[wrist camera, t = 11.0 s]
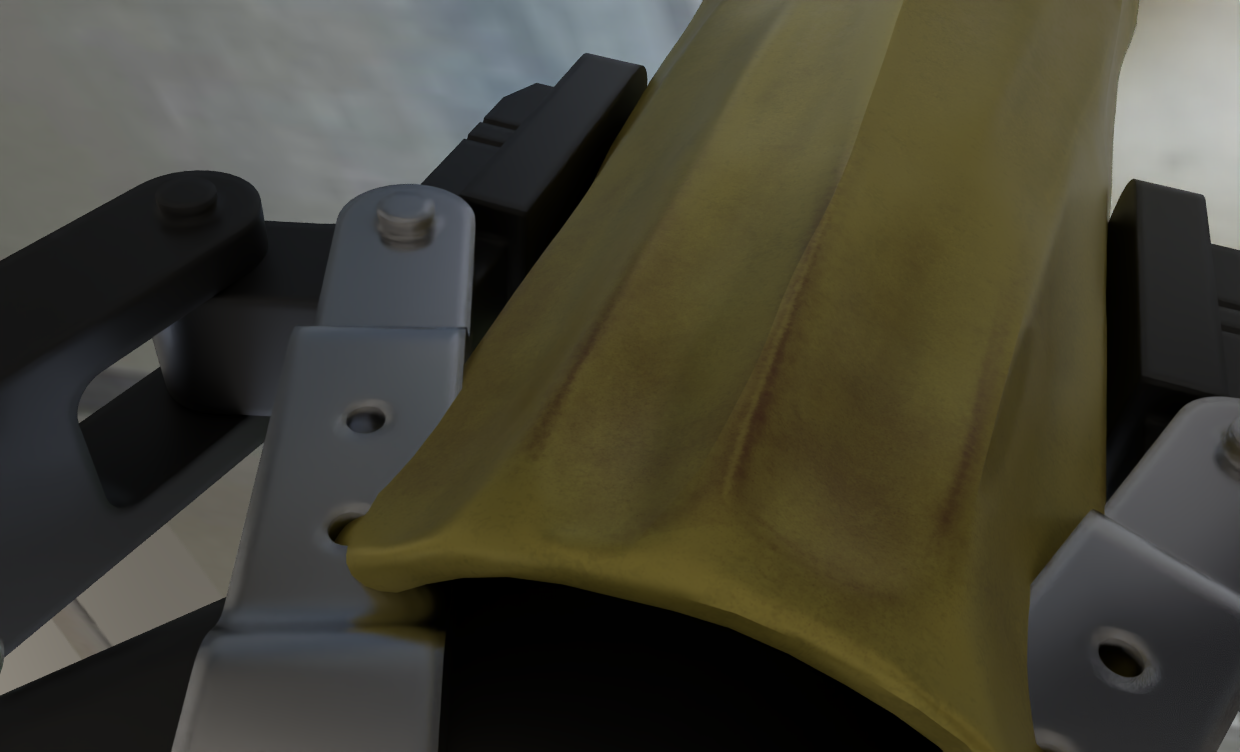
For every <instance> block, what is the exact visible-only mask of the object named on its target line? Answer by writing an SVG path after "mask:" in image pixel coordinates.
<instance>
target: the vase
mask: <svg viewBox="0 0 1240 752" xmlns="http://www.w3.org/2000/svg"><path fill="white" fill-rule="evenodd" d="M1138 7H1139V0H703V2H702V3H701V5H700V7H699V9H698V10H697V12H696V14H695V15H694V17H693V19H692V20H691V22H690V23H689V25H688V27H687V28H686V30H685V31H684V33H683V34H682V36H681V37H680V38H679V40H678V41H677V43H676V44H675V46H674V47H673V49H672V50H671V51H670V53H669V54H668V56H667V57H666V59H665V60H664V61H663V63H662V64H661V66H660V67H659V69H658V70H657V72H656V73H655V75H654V77H653V78H652V80H651V81H650V83H649V84H648V86H647V88H646V89H645V91H644V93H643V94H642V96H641V98H640V99H639V101H638V103H637V104H636V106H635V108H634V109H633V111H632V112H631V114H630V116H629V117H628V119H627V121H626V122H625V124H624V126H623V127H622V129H621V130H620V132H619V134H618V135H617V137H616V138H615V140H614V142H613V143H612V145H611V147H610V149H609V151H608V153H607V155H606V157H605V159H604V161H603V163H602V165H601V167H600V169H599V171H598V173H597V175H596V177H595V179H594V181H593V183H592V185H591V187H590V189H589V190H588V192H587V193H586V195H585V196H584V198H583V199H582V200H581V202H580V203H579V205H578V206H577V207H576V209H575V210H574V212H573V213H572V214H571V216H570V217H569V219H568V220H567V221H566V223H565V224H564V226H563V227H562V228H561V230H560V231H559V232H558V234H557V235H556V236H555V238H554V239H553V240H552V242H551V243H550V244H549V246H548V247H547V248H546V250H545V251H544V252H543V254H542V255H541V256H540V258H539V259H538V261H537V262H536V263H535V265H534V266H533V267H532V269H531V270H530V272H529V273H528V274H527V276H526V277H525V278H524V280H523V281H522V283H521V284H520V285H519V287H518V288H517V290H516V291H515V292H514V294H513V295H512V297H511V298H510V300H509V301H508V302H507V304H506V305H505V307H504V308H503V310H502V311H501V312H500V314H499V315H498V317H497V318H496V320H495V321H494V323H493V324H492V325H491V327H490V328H489V330H488V331H487V333H486V334H485V336H484V337H483V338H482V340H481V341H480V343H479V344H478V346H477V347H476V348H475V350H474V351H473V353H472V354H471V356H470V357H469V358H468V360H467V361H466V363H465V364H464V373H463V384H462V390H461V391H460V393H459V394H458V396H457V397H456V399H455V400H454V401H453V403H452V404H451V406H450V407H449V409H448V410H447V412H446V413H445V415H444V416H443V418H442V419H441V421H440V422H439V424H438V425H437V426H436V428H435V429H434V430H433V432H432V433H431V434H430V435H429V437H428V438H427V439H426V441H425V442H424V443H423V445H422V446H421V447H420V448H419V450H418V451H417V452H416V454H415V455H414V456H413V457H412V458H411V460H410V461H409V462H408V463H407V464H406V465H405V466H404V467H403V468H402V470H401V471H400V472H399V473H398V474H397V475H396V476H395V477H394V478H393V480H392V481H391V482H390V483H389V484H388V485H387V486H386V487H385V488H384V489H383V490H382V491H381V492H379V493H378V495H377V497H376V499H375V500H374V502H373V504H372V505H371V507H370V509H369V511H368V512H367V513H366V514H365V515H364V516H361V517H359V518H357V519H355V520H353V521H351V522H349V523H348V524H347V525H346V526H345V527H344V528H343V529H342V531H341V532H340V533H339V535H338V536H337V538H336V539H335V541H334V543H336V544H339V545H343V546H348V548H347V553H346V563H347V566H348V568H349V570H350V573H351V575H352V576H353V577H355V578H356V579H357V580H358V581H359V582H361V583H362V584H363V585H364V586H367V587H369V588H372V589H375V590H378V591H384V592H395V593H397V592H401V591H405V590H408V589H412V588H415V587H419V586H422V585H425V584H430V583H436V582H442V581H448V580H453V579H459V578H481V577H512V578H519V579H527V580H534V581H542V582H549V583H557V584H563V585H567V586H571V587H576V588H580V589H584V590H588V591H592V592H596V593H601V594H605V595H609V596H613V597H617V598H621V599H626V600H630V601H634V602H638V603H642V604H647V605H651V606H655V607H659V608H663V609H668V610H672V611H675V612H679V613H682V614H685V615H689V616H692V617H695V618H698V619H702V620H705V621H708V622H711V623H715V624H718V625H721V626H724V627H728V628H730V629H733V630H735V631H737V632H740V633H742V634H744V635H746V636H749V637H751V638H753V639H755V640H758V641H760V642H762V643H765V644H767V645H769V646H771V647H774V648H776V649H778V650H780V651H783V652H785V653H787V654H789V655H791V656H793V657H795V658H797V659H798V660H800V661H802V662H804V663H806V664H808V665H810V666H811V667H813V668H815V669H817V670H819V671H821V672H822V673H824V674H826V675H828V676H830V677H832V678H833V679H835V680H837V681H839V682H841V683H843V684H845V685H846V686H848V687H850V688H851V689H853V690H855V691H856V692H858V693H860V694H861V695H863V696H865V697H866V698H868V699H870V700H871V701H873V702H875V703H876V704H878V705H880V706H881V707H883V708H885V709H886V710H888V711H890V712H891V713H893V714H895V715H896V716H897V717H899V718H900V719H901V720H903V721H904V722H906V723H907V724H908V725H910V726H911V727H912V728H914V729H915V730H916V731H918V732H919V733H921V734H922V735H923V736H925V737H926V738H927V739H929V740H930V741H932V742H933V743H934V744H936V745H937V746H938V747H940V748H941V749H942V750H943V752H1044V751H1043V750H1042V748H1041V747H1040V746H1039V745H1037V744H1036V740H1035V734H1034V728H1033V721H1032V714H1031V706H1030V697H1029V689H1028V673H1027V642H1028V616H1029V607H1030V585H1031V583H1032V582H1033V581H1034V580H1035V578H1036V577H1037V576H1038V575H1039V573H1040V572H1041V571H1042V570H1043V568H1044V567H1045V566H1046V565H1047V563H1048V562H1049V561H1050V560H1051V558H1052V557H1053V556H1054V555H1055V553H1056V552H1057V551H1058V549H1059V548H1060V547H1061V546H1062V544H1063V543H1064V542H1065V541H1066V539H1067V538H1068V537H1069V536H1070V534H1071V533H1072V532H1073V531H1074V529H1075V528H1076V527H1077V526H1078V524H1079V523H1080V522H1081V521H1082V519H1083V518H1084V517H1085V516H1086V515H1087V514H1088V513H1089V512H1090V511H1091V510H1092V509H1095V510H1097V511H1099V512H1101V513H1102V514H1104V515H1105V512H1104V506H1105V504H1106V394H1107V319H1106V269H1107V240H1108V223H1109V219H1110V207H1111V192H1112V159H1113V134H1114V121H1115V113H1116V101H1117V88H1118V80H1119V74H1120V70H1121V66H1122V63H1123V60H1124V56H1125V54H1126V51H1127V49H1128V48H1129V45H1130V43H1131V40H1132V37H1133V34H1134V31H1135V28H1136V24H1137V14H1138Z"/></svg>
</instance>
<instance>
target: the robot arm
mask: <svg viewBox="0 0 1240 752" xmlns="http://www.w3.org/2000/svg"><path fill="white" fill-rule="evenodd" d="M646 88H647V72H646V69H645V67H644V66H641V65H637V64H632V63H628V62H624V61H619V60H615V59H611V58H606V57H602V56H597V55H593V54H589V53H585V54H583V55H582V56H581V57H580V58H579V59H578V60H577V62H576V63H575V64H574V65H573V66H572V67H571V68H570V70H569V71H568V72H567V73H566V74H565V75H564V76H563V77H562V79H561V80H560V81H559V82H558V83H557V84H556V85H555V86H554V87H551V86H547V85H543V84H539V83H535V84H533V85H531V86H528V87H526V88H524V89H521V90H519V91H517V92H515V93H512V94H510V95H508V96H506V97H503V98H502V99H501V100H500V102H499V103H498V104H497V105H496V106H495V107H494V108H493V109H492V110H491V111H490V112H489V113H488V114H487V115H486V116H485V117H484V121H483V123H482V122H480V123H479V124H478V125H477V126H476V127H475V128H474V129H473V130H472V131H471V132H470V133H469V134H468V138H467V139H463V140H462V141H461V143H460V144H459V145H458V146H457V147H456V148H455V149H454V150H453V151H452V152H451V153H450V154H449V155H448V156H447V157H446V158H445V159H444V160H443V161H442V162H441V164H440V165H439V166H438V167H437V168H436V169H435V170H434V171H433V172H432V173H431V174H430V175H429V176H428V177H427V178H426V179H425V180H424V181H423V182H422V184H421V185H419V184H397V185H389V186H384V187H379V188H376V189H373V190H370V191H367V192H365V193H362V194H360V195H358V196H357V197H355V198H354V199H352V200H350V201H349V202H348V203H347V204H346V205H345V206H344V207H343V208H342V210H341V211H340V213H339V215H338V218H337V221H336V224H315V223H297V222H278V221H264V215H263V210H262V204H261V198H260V196H259V193H258V191H257V190H256V189H255V187H254V186H253V185H251V184H250V183H249V182H247V181H246V180H244V179H242V178H240V177H237V176H234V175H231V174H227V173H223V172H216V171H200V170H196V171H183V172H177V173H171V174H167V175H163V176H160V177H157V178H154V179H151V180H149V181H146V182H144V183H142V184H140V185H138V186H136V187H135V188H133V189H131V190H129V191H127V192H125V193H124V194H122V195H120V196H118V197H116V198H114V199H113V200H111V201H109V202H107V203H105V204H103V205H102V206H100V207H98V208H96V209H94V210H92V211H91V212H89V213H87V214H85V215H83V216H82V217H80V218H78V219H76V220H74V221H72V222H71V223H69V224H67V225H65V226H63V227H61V228H60V229H58V230H56V231H54V232H52V233H50V234H49V235H47V236H45V237H43V238H41V239H39V240H38V241H36V242H34V243H32V244H30V245H28V246H27V247H25V248H23V249H21V250H19V251H18V252H16V253H14V254H12V255H10V256H8V257H7V258H5V259H3V260H1V261H0V672H1V669H2V666H3V661H4V657H6V656H7V655H8V654H9V653H10V652H11V651H13V650H14V649H15V648H16V647H18V646H19V645H20V644H21V643H22V642H23V641H25V640H26V639H27V638H28V637H30V636H31V635H32V634H33V633H34V632H36V631H37V630H38V629H39V628H40V627H41V626H43V625H44V624H45V623H46V622H48V621H49V620H50V619H51V618H53V617H54V616H55V615H56V614H57V613H59V612H60V611H61V610H62V609H63V608H65V607H66V606H67V605H68V604H69V603H71V602H72V601H73V600H74V599H75V598H77V597H78V596H79V595H80V594H81V593H82V592H84V591H85V590H86V589H87V588H89V587H90V586H91V585H92V584H93V583H94V582H96V581H97V580H98V579H99V578H101V577H102V576H103V575H104V574H105V573H106V572H108V571H109V570H110V569H111V568H113V567H114V566H115V565H116V564H118V563H119V562H120V561H121V560H122V559H124V558H125V557H126V556H127V555H128V554H129V553H131V552H132V551H133V550H134V549H135V548H137V547H138V546H139V545H140V544H142V543H143V542H144V541H145V540H146V539H148V538H149V537H150V536H151V535H153V534H154V533H155V532H156V531H157V530H159V529H160V528H161V527H162V526H163V525H165V524H166V523H167V522H168V521H169V520H171V519H172V518H173V517H174V516H175V515H177V514H178V513H179V512H180V511H181V510H183V509H184V508H185V507H186V506H187V505H189V504H190V503H191V502H192V501H193V500H195V499H196V498H197V497H198V496H199V495H201V494H202V493H203V492H204V491H206V490H207V489H208V488H209V487H210V486H212V485H213V484H214V483H215V482H216V481H218V480H219V479H220V478H221V477H222V476H224V475H225V474H226V473H227V472H228V471H230V470H231V469H232V468H233V467H234V466H236V465H237V464H238V463H239V462H240V461H242V460H243V459H244V458H245V457H246V456H248V455H249V454H250V453H251V452H253V451H254V450H255V449H256V448H257V447H259V446H260V445H261V444H262V443H263V442H264V446H263V450H262V454H261V458H260V462H259V466H258V470H257V474H256V478H255V482H254V486H253V491H252V495H251V499H250V503H249V507H248V511H247V515H246V519H245V523H244V527H243V532H242V536H241V540H240V544H239V548H238V552H237V556H236V560H235V564H234V568H233V573H232V577H231V581H230V585H229V589H228V593H227V597H225V598H223V599H221V600H218V601H216V602H213V603H211V604H210V605H207V606H204V607H202V608H200V609H198V610H196V611H193V612H191V613H188V614H186V615H184V616H182V617H179V618H177V619H175V620H172V621H170V622H168V623H166V624H163V625H161V626H159V627H156V628H154V629H152V630H150V631H147V632H145V633H143V634H140V635H138V636H136V637H133V638H131V639H129V640H126V641H124V642H122V643H120V644H117V645H115V646H113V647H110V648H108V649H106V650H103V651H101V652H99V653H97V654H94V655H92V656H90V657H87V658H85V659H83V660H81V661H78V662H76V663H74V664H71V665H69V666H67V667H65V668H62V669H60V670H58V671H55V672H53V673H51V674H49V675H46V676H44V677H42V678H39V679H37V680H35V681H32V682H30V683H28V684H26V685H23V686H21V687H19V688H16V689H14V690H12V691H10V692H7V693H5V694H3V695H0V752H943V750H942V749H941V748H940V747H938V746H937V745H936V744H934V743H933V742H932V741H930V740H929V739H927V738H926V737H925V736H923V735H922V734H921V733H919V732H918V731H916V730H915V729H914V728H912V727H911V726H910V725H908V724H907V723H906V722H904V721H903V720H901V719H900V718H899V717H897V716H896V715H895V714H893V713H891V712H890V711H888V710H886V709H885V708H883V707H881V706H880V705H878V704H876V703H875V702H873V701H871V700H870V699H868V698H866V697H865V696H863V695H861V694H860V693H858V692H856V691H855V690H853V689H851V688H850V687H848V686H846V685H845V684H843V683H841V682H839V681H837V680H835V679H833V678H832V677H830V676H828V675H826V674H824V673H822V672H821V671H819V670H817V669H815V668H813V667H811V666H810V665H808V664H806V663H804V662H802V661H800V660H798V659H797V658H795V657H793V656H791V655H789V654H787V653H785V652H783V651H780V650H778V649H776V648H774V647H771V646H769V645H767V644H765V643H762V642H760V641H758V640H755V639H753V638H751V637H749V636H746V635H744V634H742V633H740V632H737V631H735V630H733V629H730V628H728V627H724V626H721V625H718V624H715V623H711V622H708V621H705V620H702V619H698V618H695V617H692V616H689V615H685V614H682V613H679V612H675V611H672V610H668V609H663V608H659V607H655V606H651V605H647V604H642V603H638V602H634V601H630V600H626V599H621V598H617V597H613V596H609V595H605V594H601V593H596V592H592V591H588V590H584V589H580V588H576V587H571V586H567V585H563V584H557V583H549V582H542V581H534V580H527V579H519V578H512V577H481V578H459V579H453V580H448V581H442V582H436V583H430V584H425V585H422V586H419V587H415V588H412V589H408V590H405V591H401V592H397V593H395V592H384V591H378V590H375V589H372V588H369V587H367V586H364V585H363V584H362V583H361V582H359V581H358V580H357V579H356V578H355V577H353V576H352V575H351V573H350V570H349V568H348V566H347V563H346V553H347V548H348V546H343V545H339V544H336V543H334V541H335V539H336V538H337V536H338V535H339V533H340V532H341V531H342V529H343V528H344V527H345V526H346V525H347V524H348V523H349V522H351V521H353V520H355V519H357V518H359V517H361V516H364V515H365V514H366V513H367V512H368V511H369V509H370V507H371V505H372V504H373V502H374V500H375V499H376V497H377V495H378V493H379V492H381V491H382V490H383V489H384V488H385V487H386V486H387V485H388V484H389V483H390V482H391V481H392V480H393V478H394V477H395V476H396V475H397V474H398V473H399V472H400V471H401V470H402V468H403V467H404V466H405V465H406V464H407V463H408V462H409V461H410V460H411V458H412V457H413V456H414V455H415V454H416V452H417V451H418V450H419V448H420V447H421V446H422V445H423V443H424V442H425V441H426V439H427V438H428V437H429V435H430V434H431V433H432V432H433V430H434V429H435V428H436V426H437V425H438V424H439V422H440V421H441V419H442V418H443V416H444V415H445V413H446V412H447V410H448V409H449V407H450V406H451V404H452V403H453V401H454V400H455V399H456V397H457V396H458V394H459V393H460V391H461V390H462V384H463V373H464V364H465V363H466V361H467V360H468V358H469V357H470V356H471V354H472V353H473V351H474V350H475V348H476V347H477V346H478V344H479V343H480V341H481V340H482V338H483V337H484V336H485V334H486V333H487V331H488V330H489V328H490V327H491V325H492V324H493V323H494V321H495V320H496V318H497V317H498V315H499V314H500V312H501V311H502V310H503V308H504V307H505V305H506V304H507V302H508V301H509V300H510V298H511V297H512V295H513V294H514V292H515V291H516V290H517V288H518V287H519V285H520V284H521V283H522V281H523V280H524V278H525V277H526V276H527V274H528V273H529V272H530V270H531V269H532V267H533V266H534V265H535V263H536V262H537V261H538V259H539V258H540V256H541V255H542V254H543V252H544V251H545V250H546V248H547V247H548V246H549V244H550V243H551V242H552V240H553V239H554V238H555V236H556V235H557V234H558V232H559V231H560V230H561V228H562V227H563V226H564V224H565V223H566V221H567V220H568V219H569V217H570V216H571V214H572V213H573V212H574V210H575V209H576V207H577V206H578V205H579V203H580V202H581V200H582V199H583V198H584V196H585V195H586V193H587V192H588V190H589V189H590V187H591V185H592V183H593V181H594V179H595V177H596V175H597V173H598V171H599V169H600V167H601V165H602V163H603V161H604V159H605V157H606V155H607V153H608V151H609V149H610V147H611V145H612V143H613V142H614V140H615V138H616V137H617V135H618V134H619V132H620V130H621V129H622V127H623V126H624V124H625V122H626V121H627V119H628V117H629V116H630V114H631V112H632V111H633V109H634V108H635V106H636V104H637V103H638V101H639V99H640V98H641V96H642V94H643V93H644V91H645V89H646ZM1106 319H1107V394H1106V504H1105V506H1104V512H1105V515H1104V514H1102V513H1101V512H1099V511H1097V510H1095V509H1092V510H1091V511H1090V512H1089V513H1088V514H1087V515H1086V516H1085V517H1084V518H1083V519H1082V521H1081V522H1080V523H1079V524H1078V526H1077V527H1076V528H1075V529H1074V531H1073V532H1072V533H1071V534H1070V536H1069V537H1068V538H1067V539H1066V541H1065V542H1064V543H1063V544H1062V546H1061V547H1060V548H1059V549H1058V551H1057V552H1056V553H1055V555H1054V556H1053V557H1052V558H1051V560H1050V561H1049V562H1048V563H1047V565H1046V566H1045V567H1044V568H1043V570H1042V571H1041V572H1040V573H1039V575H1038V576H1037V577H1036V578H1035V580H1034V581H1033V582H1032V583H1031V585H1030V607H1029V616H1028V642H1027V673H1028V689H1029V697H1030V706H1031V714H1032V721H1033V728H1034V734H1035V740H1036V744H1037V745H1039V746H1040V747H1041V748H1042V750H1043V751H1044V752H1217V750H1218V748H1219V746H1220V744H1221V743H1222V741H1223V739H1224V737H1225V735H1226V733H1227V731H1228V729H1229V728H1230V726H1231V724H1232V722H1233V720H1234V718H1235V716H1236V714H1237V713H1238V711H1239V712H1240V250H1236V249H1232V248H1227V247H1223V246H1219V245H1215V244H1211V241H1210V233H1209V224H1208V216H1207V208H1206V200H1205V197H1204V195H1202V194H1197V193H1193V192H1189V191H1184V190H1180V189H1176V188H1171V187H1167V186H1162V185H1158V184H1154V183H1149V182H1145V181H1141V180H1136V179H1132V180H1131V181H1130V182H1129V183H1128V184H1127V185H1126V187H1125V189H1124V190H1123V192H1122V194H1121V196H1120V198H1119V200H1118V202H1117V204H1116V206H1115V209H1114V211H1113V213H1112V215H1111V218H1110V220H1109V223H1108V240H1107V269H1106ZM151 338H152V339H153V342H154V346H155V349H156V353H157V356H158V360H159V363H160V367H159V368H157V369H156V370H155V371H153V372H152V373H150V374H149V375H147V376H146V377H145V378H143V379H142V380H140V381H139V382H137V383H136V384H135V385H133V386H132V387H130V388H129V389H127V390H126V391H125V392H123V393H122V394H120V395H119V396H117V397H116V398H115V399H113V400H112V401H110V402H109V403H107V404H106V405H105V406H103V407H102V408H100V409H99V410H97V411H96V412H95V413H93V414H92V415H90V416H89V417H88V418H86V419H85V420H83V421H82V422H80V423H78V419H77V410H78V405H79V401H80V398H81V396H82V394H83V392H84V390H85V389H86V387H87V386H88V384H89V383H90V382H91V381H92V380H93V379H94V378H95V377H96V376H97V375H98V374H99V373H101V372H102V371H104V370H105V369H107V368H108V367H109V366H111V365H112V364H114V363H115V362H117V361H118V360H120V359H121V358H123V357H124V356H126V355H127V354H129V353H130V352H132V351H133V350H135V349H136V348H138V347H139V346H141V345H142V344H144V343H145V342H147V341H148V340H150V339H151Z"/></svg>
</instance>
